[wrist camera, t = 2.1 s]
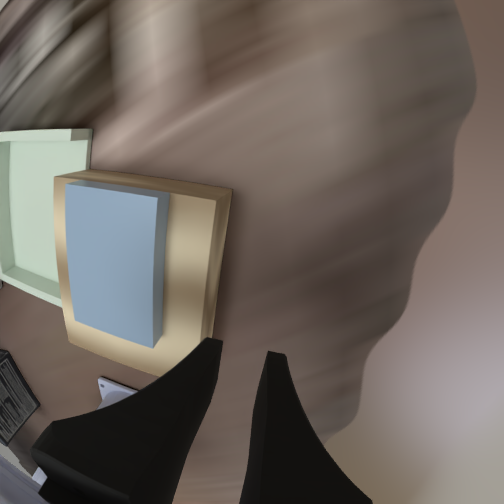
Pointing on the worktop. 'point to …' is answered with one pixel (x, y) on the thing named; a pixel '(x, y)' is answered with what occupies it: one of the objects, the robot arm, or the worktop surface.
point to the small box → (13, 399)
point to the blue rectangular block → (117, 258)
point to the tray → (35, 203)
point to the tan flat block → (175, 270)
